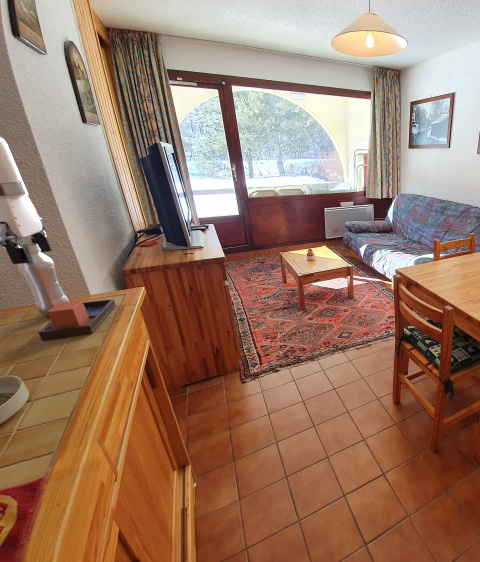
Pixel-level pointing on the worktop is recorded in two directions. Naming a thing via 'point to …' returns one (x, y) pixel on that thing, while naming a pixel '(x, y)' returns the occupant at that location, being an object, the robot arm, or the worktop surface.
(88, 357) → the worktop surface
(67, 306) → the red block
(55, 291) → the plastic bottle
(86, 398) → the worktop surface
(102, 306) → the sorting tray
